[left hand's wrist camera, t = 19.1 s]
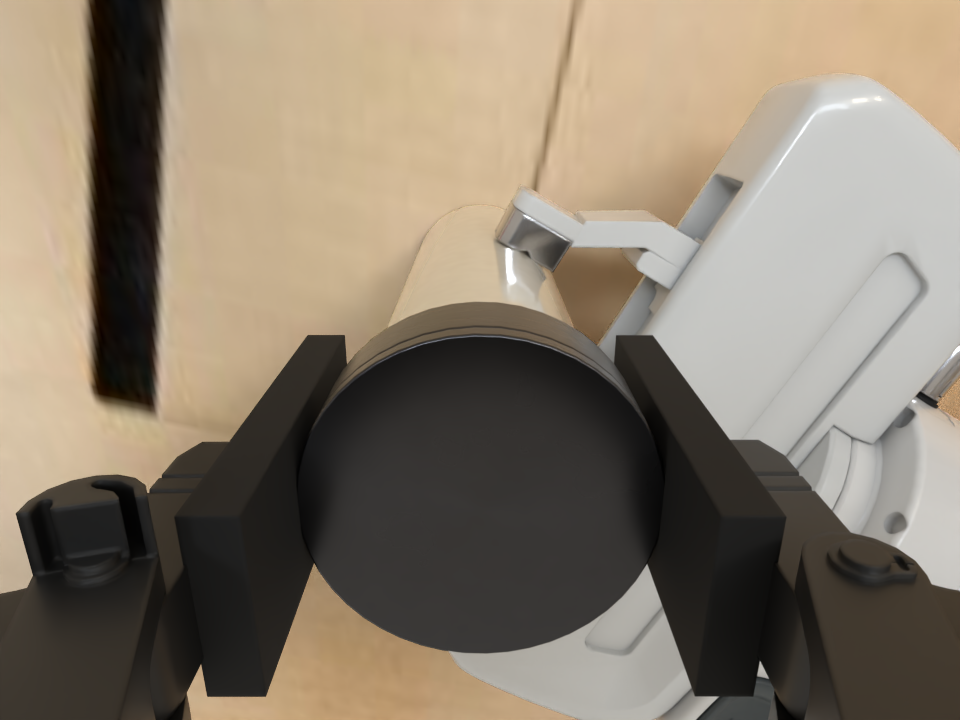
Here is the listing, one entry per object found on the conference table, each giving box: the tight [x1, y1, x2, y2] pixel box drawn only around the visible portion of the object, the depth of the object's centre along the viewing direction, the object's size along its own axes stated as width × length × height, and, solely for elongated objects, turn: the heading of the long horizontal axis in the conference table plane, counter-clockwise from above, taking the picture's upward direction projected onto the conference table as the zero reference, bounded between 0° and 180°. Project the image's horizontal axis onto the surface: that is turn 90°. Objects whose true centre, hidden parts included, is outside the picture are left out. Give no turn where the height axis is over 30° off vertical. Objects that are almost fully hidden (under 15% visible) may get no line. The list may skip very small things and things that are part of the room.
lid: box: [296, 302, 665, 654], centre depth 11 cm, size 6×6×2 cm
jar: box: [387, 205, 574, 328], centre depth 18 cm, size 5×5×15 cm
